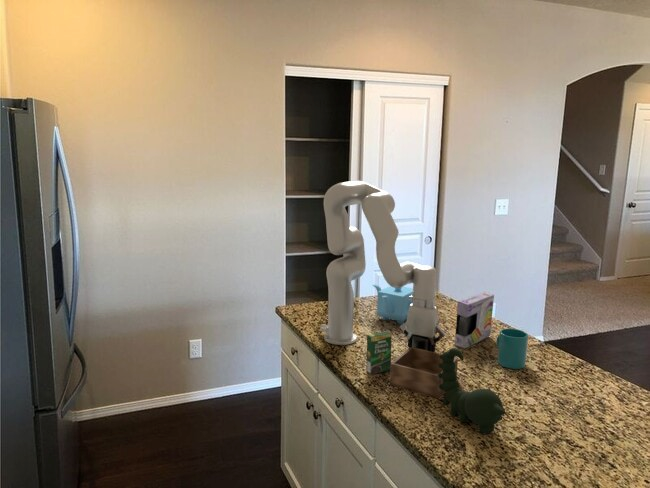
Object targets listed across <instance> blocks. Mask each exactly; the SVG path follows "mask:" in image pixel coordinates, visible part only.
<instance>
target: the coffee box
mask: <svg viewBox="0 0 650 488" xmlns="http://www.w3.org/2000/svg"><path fill="white" fill-rule="evenodd" d="M391 360H392V333H391V332H389V331H388V330H386V331H382V332H376V333H371V334H366V372H367V373H368V374H369V375H371V376H372V375H377V374H379V373H385V372H390V364H391V363H392V361H391Z"/></svg>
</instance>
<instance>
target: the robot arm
mask: <svg viewBox="0 0 650 488" xmlns="http://www.w3.org/2000/svg"><path fill="white" fill-rule="evenodd" d="M354 205H360V206H361V210H362V212H363V215H364V217H365V219H366V221H367V223H368V225H369V228H370V231H371V232H372V234H373V236H374V240H375V242H376V243H375V244H376V245H375V252H376V261H377V264H378V267H379V270H380V272H381V274H382V277H383V278H384V280H385V282H386V283H387V285H388V286H391V287H394V288H401V287H406V285H407V286H408V285H410V284H412V288H413V296H409V300H411V301H412V304H410V306H409V310H408V316H407V319H406V321H405V322H404V323H403V324H400V325H399V327H400V329H401V330H402V332H403V334H404V335H405V336H406V339H407V347H408V349H409V348H410V347H411V346H412V335H413V334H415V335H419V336H424V337H429V339H430V342H431V343H430V345H429V351H431V352H435V353H436V347H437V346H436V344H437V343H438V342H439V341H440V340H442V339H443V338H444V337H445V336H446V333H445V332H444V331H443V330H442V329H441V327H439V317H438V309H437V306H436V287H437V269H436V267H434V266H431V265H426V264H423V265H421V264H419V263H415V262H412V261H403V262H401V263H400V262H399V260H398V257H397V254H396V242H397V238H398V235H399V234H400V233H399V228H398V226H397V225H396V222H395V220H394V218H393V215H392V212H394V210H395V207H396V203H395V200H394V197H393V196H392V195H391V194H390V193H389V192H387V191H385V190H382V189H380V188H378V187H376V186H374V185H371V184H370V183H367V182H365V181H362V180H355V181H344V182H343V181H342V182H338V183H336V184H334V185H332V186H331V187H329V188H328V189H327V191H326V192H325V194H324V197H323V211H324V216H325V225H326V226H325V227H326V236H327V237H326V240H327V247H328V250H329V253H331V254H333V255H335V256H342V255H343V256H342V257H338V258H336V259H334V260H332V261H330V263H329V264H328V266H327V268H326V272H325V273H326V280H327V281H326V282H327V286H328V287H327V288H328V316H327V317H328V324H325V323H322V324H320V329H319V330H320V331H321V332H325V333H324V335H323V340H324V341H325V342H327V343H329V344H332V345H336V346H337V345H339V346H347V345H351V344H354V343H355V342H357V340H358V335H357V334H356V333H354V305H355V304H354V303H355V301H354V299H355V294H354V289H353V285H352V282H353V281H355V280H357V279H359V278H361V277H362V276H363V275H364V274H365V271H366V250H365V241H364V237H363V234H362V232H361V231H360V230H359V229H358V228H357V227H355V226H350V218H349V214H348V212H347V210H346V207H347V206H354ZM437 334H438V336H437Z"/></svg>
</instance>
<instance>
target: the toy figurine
mask: <svg viewBox="0 0 650 488" xmlns="http://www.w3.org/2000/svg"><path fill="white" fill-rule="evenodd" d="M440 354H441V355H440V359H442V361H443V362H442V363H439V367H440V368H442V370H443V372H442V373H439V374H438V377H439V378H442V379H443V383H442V384H440V385H439V389H441V390H444V391H445V397H444V398H443V399H442V404H443V405H444V406H449V405H450V409H449V413H450V415H451V416H453V417H454V416H457V415H458V420H459V421H460V422H462V423H465V422H468V421H469V420H470V422H471V423H474V424H475V425H477V426H478V430H479V432H480V434H482V435H488V434H491V433H492V432H494V430H495V429H496V428H495V425H496V424H497V423H499V422H500V421H502V419H503V415H505V414H506V411H505V410H504V405H503V403H502V400H501V398H500V397H499V395H497V393H495V391H493V390H490V389H487V388H477V389H474V390H473V391H470V392H466V391H464V390H463V389H462V388H461V387H460V383H459V381H458V380H457V377H458V376H457V374H458V373H457V374H456V372H455V371H454V370H455V367H456V366H455V363H454V357H457V358H458V359H460V360H461V361H464V359H465V358H464V355H463V352H462V350H460V349H458V347H457V348H456V347H452V348H450V349H449V350H448V351H444V352H443V353H440ZM442 354H443V355H442Z"/></svg>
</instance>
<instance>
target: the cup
mask: <svg viewBox="0 0 650 488" xmlns="http://www.w3.org/2000/svg"><path fill="white" fill-rule="evenodd" d="M528 341H529V334H528V333H527V332H526V331H524V330H521V329H517V328H503V329H501V330H500V331H499V335H498V336H497V337H496V346H497V348H498V349H497V350H498V352H497V362H498V364H499V365H500V366H502V367H504V368H507V369H511V370H520V369H523V368H525V367H526V362H527V353H528Z"/></svg>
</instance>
